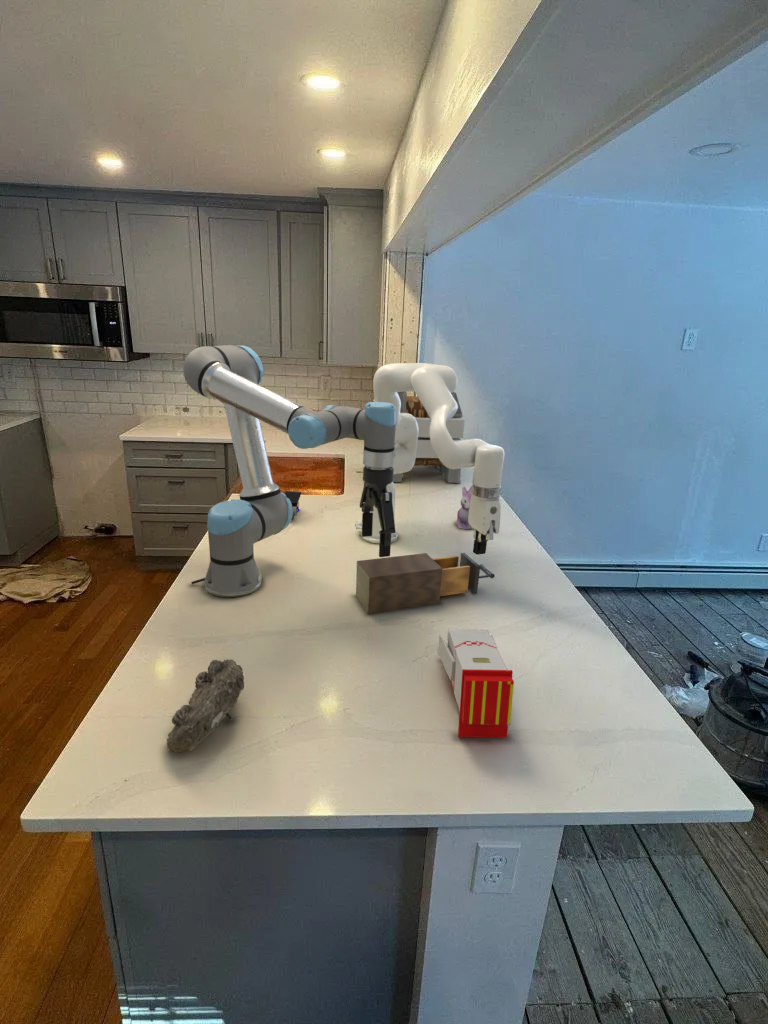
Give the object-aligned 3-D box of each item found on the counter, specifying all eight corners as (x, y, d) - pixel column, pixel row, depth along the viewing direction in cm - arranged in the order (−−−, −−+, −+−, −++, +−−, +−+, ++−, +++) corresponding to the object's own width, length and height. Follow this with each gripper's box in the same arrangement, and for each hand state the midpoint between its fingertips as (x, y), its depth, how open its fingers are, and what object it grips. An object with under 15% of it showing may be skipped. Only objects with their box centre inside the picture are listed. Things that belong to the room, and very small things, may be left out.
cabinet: (423, 586, 163) (426, 552, 159) (439, 603, 154) (442, 568, 150) (355, 595, 156) (356, 560, 152) (367, 614, 147) (369, 577, 143)
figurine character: (297, 525, 206) (302, 507, 220) (296, 507, 203) (301, 489, 216) (278, 525, 206) (284, 507, 220) (278, 506, 203) (284, 489, 216)
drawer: (479, 577, 168) (482, 550, 165) (495, 591, 160) (499, 563, 157) (401, 587, 159) (402, 559, 157) (414, 603, 151) (416, 574, 148)
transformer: (382, 463, 289) (386, 382, 275) (445, 464, 293) (451, 384, 279) (390, 482, 257) (394, 392, 243) (460, 483, 261) (468, 394, 247)
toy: (488, 613, 130) (523, 677, 101) (484, 667, 133) (517, 744, 104) (435, 612, 130) (455, 676, 101) (432, 666, 133) (451, 743, 103)
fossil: (192, 660, 117) (244, 628, 112) (224, 691, 120) (276, 661, 115) (142, 746, 98) (202, 712, 93) (182, 779, 101) (242, 748, 96)
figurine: (464, 531, 204) (468, 492, 199) (448, 522, 212) (452, 484, 207) (485, 528, 208) (490, 489, 203) (469, 519, 217) (473, 481, 212)
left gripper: (412, 479, 130) (407, 563, 137) (375, 453, 152) (373, 527, 159) (381, 481, 127) (378, 567, 134) (349, 454, 149) (347, 529, 156)
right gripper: (513, 498, 148) (504, 562, 154) (484, 482, 161) (477, 541, 167) (487, 500, 145) (480, 565, 151) (460, 483, 158) (455, 544, 165)
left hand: (375, 545), depth 147 cm, fingers open, 13 cm apart
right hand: (479, 553), depth 159 cm, fingers closed
